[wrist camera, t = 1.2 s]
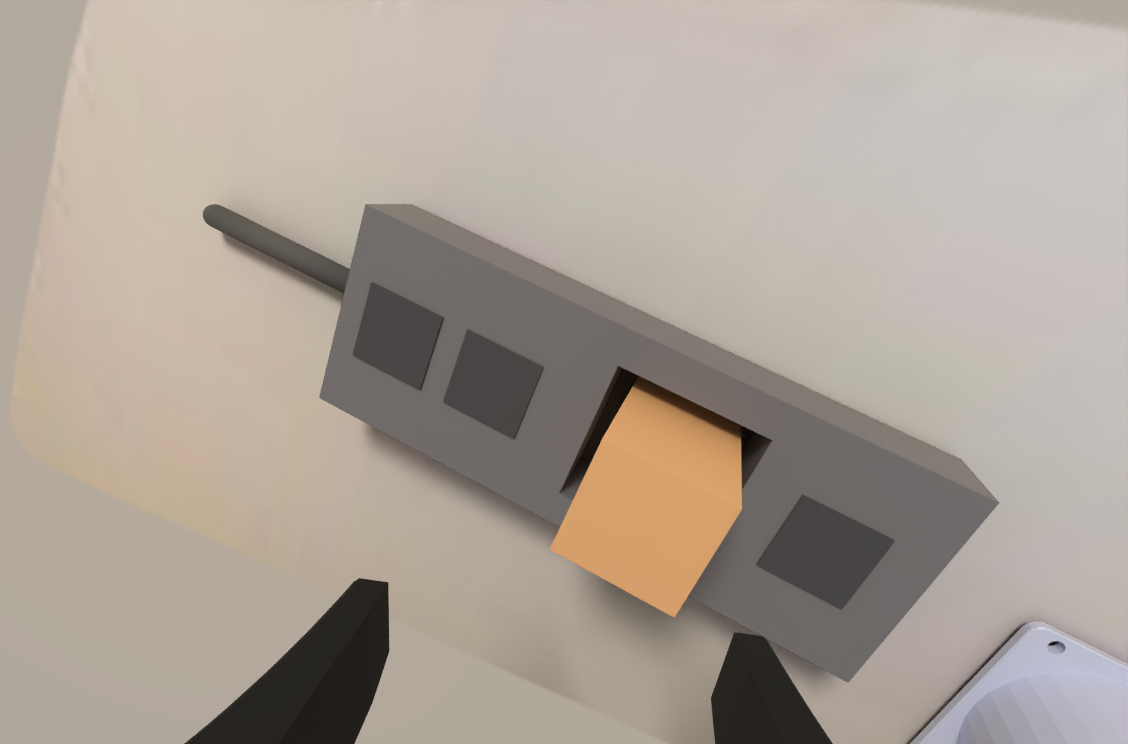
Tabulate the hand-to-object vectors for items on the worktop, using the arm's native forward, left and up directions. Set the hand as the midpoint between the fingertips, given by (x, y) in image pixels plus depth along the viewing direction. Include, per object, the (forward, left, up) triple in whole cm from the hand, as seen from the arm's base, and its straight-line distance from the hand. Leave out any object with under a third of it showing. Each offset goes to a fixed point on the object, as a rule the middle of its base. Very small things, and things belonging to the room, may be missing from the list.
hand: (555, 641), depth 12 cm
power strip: (+6, -1, -11) cm, 13 cm away
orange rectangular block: (-1, -1, -11) cm, 11 cm away
